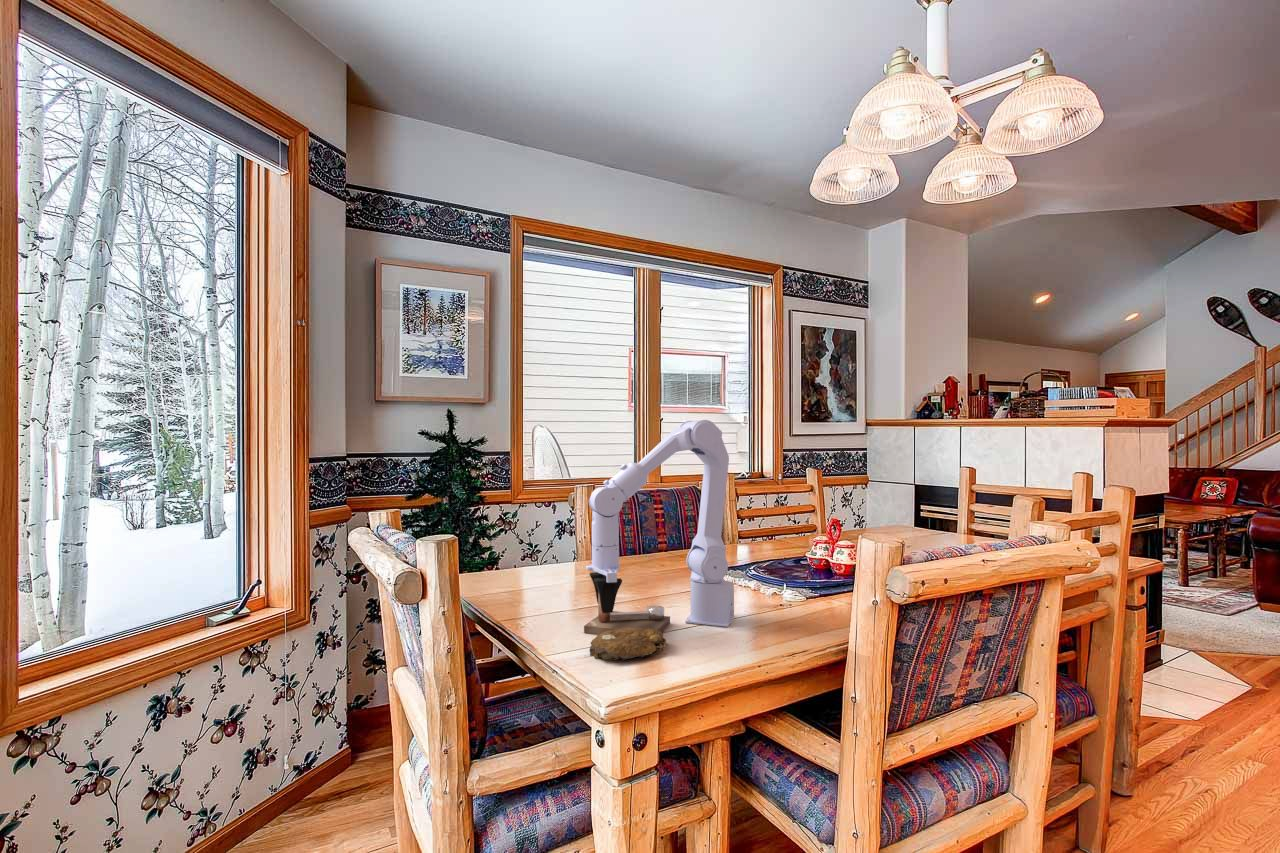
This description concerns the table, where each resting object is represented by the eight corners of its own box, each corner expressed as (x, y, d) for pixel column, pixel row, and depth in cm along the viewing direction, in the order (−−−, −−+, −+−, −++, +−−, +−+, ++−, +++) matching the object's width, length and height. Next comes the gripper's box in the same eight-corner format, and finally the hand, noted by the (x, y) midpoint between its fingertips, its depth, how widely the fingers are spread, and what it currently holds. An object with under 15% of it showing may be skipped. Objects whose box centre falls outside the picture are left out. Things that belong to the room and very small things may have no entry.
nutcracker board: (670, 623, 134) (670, 616, 134) (653, 640, 123) (653, 632, 123) (605, 617, 139) (605, 609, 139) (584, 633, 127) (584, 625, 127)
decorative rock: (646, 639, 126) (580, 656, 118) (645, 618, 126) (579, 634, 118) (679, 652, 116) (609, 671, 108) (678, 630, 116) (608, 648, 108)
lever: (662, 614, 134) (662, 584, 135) (665, 619, 131) (665, 588, 131) (597, 617, 132) (597, 587, 132) (599, 622, 128) (599, 591, 129)
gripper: (581, 539, 136) (581, 601, 136) (592, 551, 122) (592, 620, 122) (612, 538, 138) (612, 599, 138) (627, 550, 124) (627, 618, 124)
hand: (605, 609), depth 130 cm, fingers open, 4 cm apart
